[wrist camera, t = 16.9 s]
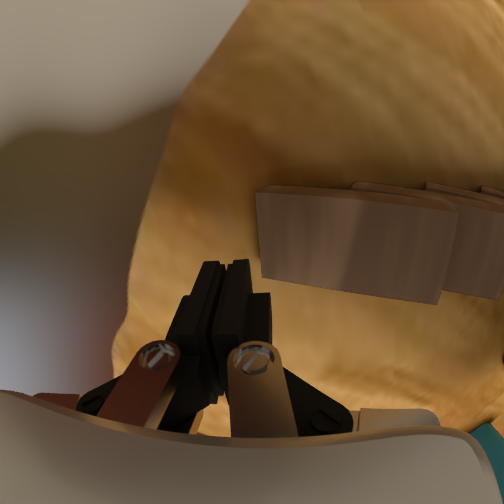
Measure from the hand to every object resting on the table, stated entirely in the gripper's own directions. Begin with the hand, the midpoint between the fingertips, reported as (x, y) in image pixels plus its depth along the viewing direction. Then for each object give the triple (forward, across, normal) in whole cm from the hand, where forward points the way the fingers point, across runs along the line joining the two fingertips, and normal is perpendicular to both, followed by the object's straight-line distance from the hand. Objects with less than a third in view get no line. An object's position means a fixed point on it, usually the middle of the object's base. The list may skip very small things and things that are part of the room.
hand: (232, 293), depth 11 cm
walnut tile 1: (+6, -1, 0) cm, 6 cm away
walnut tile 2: (+6, -6, 0) cm, 8 cm away
